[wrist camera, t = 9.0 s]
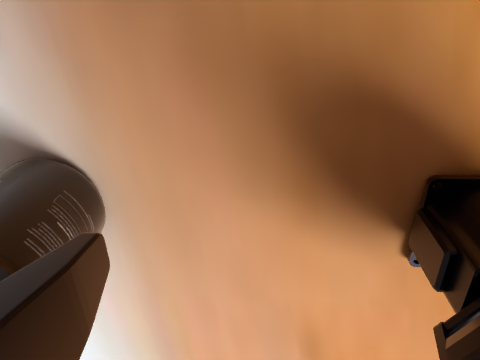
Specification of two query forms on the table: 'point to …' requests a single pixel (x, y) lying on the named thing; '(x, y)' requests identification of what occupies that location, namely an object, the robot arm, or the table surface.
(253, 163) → the table surface
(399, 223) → the table surface
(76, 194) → the supplement bottle
